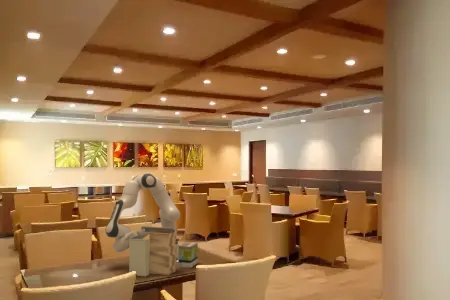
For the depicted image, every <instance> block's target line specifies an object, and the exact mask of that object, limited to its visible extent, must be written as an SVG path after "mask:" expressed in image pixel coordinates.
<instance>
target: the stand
mask: <svg viewBox="0 0 450 300" xmlns="http://www.w3.org/2000/svg"><path fill="white" fill-rule="evenodd" d="M148 237H149V239H148V240H149V274H154V275H165V276H170V275H171V274H173V273H175V272H177V270H176V269H177V259H176V232H175V230H173V233H170V231H160V230H151V233H149V234H148Z"/></svg>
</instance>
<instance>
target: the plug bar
mask: <svg viewBox="0 0 450 300" xmlns="http://www.w3.org/2000/svg"><path fill="white" fill-rule="evenodd" d="M144 228H145V229H146V231H144V232H151V230H160V231H170V233H173V228H166V227H162V226H161V227H160V226H146V225H145V226H141V227H140V230H142V229H144Z"/></svg>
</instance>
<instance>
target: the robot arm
mask: <svg viewBox="0 0 450 300" xmlns="http://www.w3.org/2000/svg"><path fill="white" fill-rule="evenodd" d="M147 189H148V190H149V191H150V193H151V195H152V197H153V199H154V202H155V203H156V205H157V206H158V207H159V211H158V214H159V217H160V218H159V219H160V224H161V227H166V228H173V230H175V232H176V260H178V258H179V246H180V245H181V244H179V242H180V238H179V237H178V236H177V235H178V231H177V228H178V227H177V225H176V221H177V222H178V220H179V219H180V218H181V212H180V210H179V209H178V207H177V206H176V204H175V203H174V201H173V200H172V198H171V197H170V195H169V191H167V189H166V186H165V185H164V183H163V182H162V180H161V179H160V178H159V177H156V176H155V175H153V174H151V173H141V174H139V175H135V176H134V177H133V178H132V179H130V180H128V181H126V183H125V185H124V188H123V191H122V194H121V197H120V199H119V200H117V202H116V203H115V205H114V207H113V211H112V213H111V216H110V218H109V221H108V222H107V225H106V226H105V234H106V236H107V237H109V238H112V239H113V238H114V239H115V240H114V242H113V244H112V248H113V250H114V252H117V253H123V252H125V251H126V250H129V240H130V239H144V238H146V237H147V236H149V233H151V232H144V231H146V229H145V228H144V229H142V230H141V229H139V230H131V228H130V227H129V226H128V225H125V224H120V223H119V220H120V217H121V215H122V213H123V211H124V210H126V209H131V208H133V207H134V206H135V205H136V204H137V201H138V197H139V196H138V195H139V192H140V190H147Z"/></svg>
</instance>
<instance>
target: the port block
mask: <svg viewBox="0 0 450 300" xmlns="http://www.w3.org/2000/svg"><path fill="white" fill-rule="evenodd" d="M128 251H129V261H128V263H129V267H128V268H129V269H128V270H129V271H128V272H132V271H136V273H137V276H139V277H147V276H149V275H150V273H149V239H144V238H143V239H130V240H129V248H128Z"/></svg>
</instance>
